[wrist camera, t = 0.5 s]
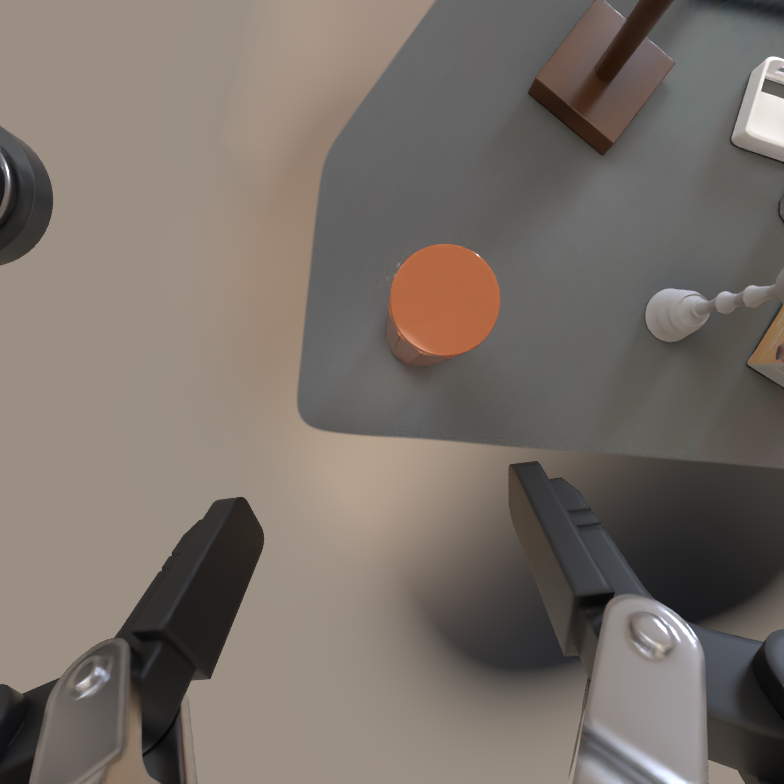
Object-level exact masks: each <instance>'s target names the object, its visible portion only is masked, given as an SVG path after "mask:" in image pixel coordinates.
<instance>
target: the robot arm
mask: <svg viewBox="0 0 784 784" xmlns="http://www.w3.org/2000/svg"><path fill="white" fill-rule="evenodd" d="M17 197H18V182H17V177H16V173H15V169H14V167H13V165H12V162H11V161H10V159H9V157H8V156H7V154H6V153H5V151H4V150H3V149H2V148H1V147H0V230H1V229H2V228H3V227H4V225H5V224H6V223H7V222H8V220H9V219H10V217H11V215H12V213H13V211H14V209H15V206H16V202H17ZM509 508H510V513H511V517H512V521H513V524H514V527H515V529H516V532H517V535H518V537H519V540H520V542H521V544H522V548H523V550H524V552H525V555H526V558H527V560H528V563H529V566H530V568H531V571H532V573H533V576H534V579H535V581H536V584H537V586H538V589H539V592H540V594H541V597H542V599H543V601H544V604H545V607H546V610H547V612H548V615H549V617H550V620H551V623H552V625H553V628H554V630H555V633H556V635H557V638H558V641H559V643H560V646H561V649H562V651H563V654H564V656H575V655H579V656H580V658H581V661H582V663H583V665H584V667H585V670H586V673H587V675H588V679H587V684H586V689H585V694H584V700H583V704H582V709H581V714H580V719H579V724H578V729H577V734H576V740H575V744H574V749H573V754H572V759H571V764H570V769H569V774H568V779H567V784H709V783H708V760H711V761H714V762H717V763H720V764H722V765H725V766H728V767H731V768H733V769H736V770H738V772H739V774H740V775H741V777H742V779H743V780H744V782H745V784H784V629H782V630H777V631H775V632H773V633H771V634H770V635H769V636H768V637H767V638H766V640H765V641H764V642H761V641H757V640H752V639H748V638H744V637H740V636H736V635H731V634H727V633H723V632H719V631H714V630H710V629H706V628H703V627H700V626H697V625H694V624H692V623H690V622H687V621H685V620H683V619H682V618H681V617H680V616H679V615H677V614H676V613H675V612H673V611H672V610H671V609H670V608H668V607H666V606H665V605H663V604H662V603H660V602H658V601H656V600H655V599H654V598H653V597H652V596H651V595H650V594H649V593H648V592H647V591H646V589H645V588H644V586H643V585H642V584H641V582H640V581H639V579H638V578H637V576H636V575H635V573H634V572H633V570H632V569H631V567H630V566H629V565H628V563H627V562H626V560H625V559H624V557H623V555H622V554H621V552H620V551H619V550H618V548H617V547H616V545H615V544H614V542H613V541H612V539H611V538H610V536H609V535H608V533H607V532H606V530H605V529H604V527H602V526H601V524H600V521H599V520H598V519H597V517H596V516H595V514H594V512H592V511H591V508H590V506H589V505H588V504H587V502H586V501H585V499H584V498H583V496H582V495H581V493H580V492H579V491H578V490H577V489H576V488H574V487H573V486H572V485H570V484H569V483H568V482H567V481H565V480H564V479H563V478H555V479H548V477H547V475H546V473H545V472H544V470H543V468H542V467H541V465H540V464H539V463H538V462H537V461H533V462H525V463H517V464H510V465H509ZM263 545H264V533H263V530H262V527H261V526H260V524H259V522H258V520H257V518H256V516H255V515H254V513H253V511H252V509H251V507H250V505H249V503H248V502H247V500H246V499H245V498H243V497H237V498H229V499H221V500H217V501H215V502H214V503H213V504H212V506H211V507H210V509H209V510H208V512H207V513H206V515H205V516H204V518H203V519H202V520H199V521H198V522H197V523H196V524H195V525H194V526H193V527H192V528H191V529H190V530H189V531H188V532H187V533H185V534H184V535H183V537H182V538H181V540H180V541H179V543H178V544H177V546H176V547H175V549H174V550H173V552H172V556H170V557H169V558H168V559H167V561H166V562H165V564H164V565H163V567H162V571H160V572H159V573H158V574H157V576H156V577H155V579H154V580H153V582H152V583H151V584H150V586H149V587H148V589H147V591H146V592H145V593H144V595H143V596H142V598H141V599H140V601H139V603H138V604H137V606H136V607H135V608H134V610H133V611H132V613H131V614H130V616H129V617H128V619H127V620H126V622H125V623H124V625H123V626H122V628H121V630H120V631H119V632H118V633H117V635H116V636H115V637H114V638H111V639H108V640H105V641H103V642H100V643H99V644H97V645H95V646H94V647H92V648H90V649H89V650H88V651H87V652H85V653H84V654H82V655H81V656H80V657H79V658H78V659H77V660H76V661H75V662H74V663H73V664H72V665H71V666H70V667H69V668H68V669H67V670H66V671H65V672H64V674H63V675H62V676H61V677H60V678H58V679H56V680H53V681H51V682H49V683H46V684H44V685H42V686H40V687H37V688H35V689H32V690H30V691H28V692H26V693H23V694H21V693H19V692H18V691H16V690H14V689H13V688H11V687H9V686H8V685H4V684H0V784H198V783H197V775H196V764H195V755H194V746H193V736H192V727H191V717H190V708H189V701H188V698H187V696H186V695H185V693H186V691H187V688H188V686H189V684H190V682H191V680H205V679H210V678H211V676H212V673H213V671H214V668H215V666H216V664H217V661H218V659H219V656H220V654H221V651H222V649H223V646H224V644H225V641H226V639H227V636H228V634H229V632H230V629H231V627H232V624H233V622H234V619H235V617H236V614H237V612H238V609H239V607H240V604H241V602H242V599H243V597H244V594H245V592H246V589H247V587H248V584H249V582H250V579H251V577H252V574H253V572H254V569H255V567H256V564H257V562H258V560H259V557H260V554H261V552H262V549H263Z"/></svg>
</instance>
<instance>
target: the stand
mask: <svg viewBox="0 0 784 784" xmlns="http://www.w3.org/2000/svg"><path fill="white" fill-rule="evenodd" d="M673 1H674V0H640V1H639V2H638V3H637V5H636V6H635V8H634V9H633V11H632V12H631V14H630V15H629V17H628V18H627V20H626V19H625V18H624V17H622V16H621V15H620V14H619V13H618V12H617V11H616V10H614V9H613V8H612V7H611V6H610V5H609V4H607V3H606V2H605V1H604V0H594V2H593V3H592V4H591V6H590V7H589V8H588V9H587V11H586V12H585V13H584V15H583V16H582V17H581V19H580V20H579V21H578V23H577V24H576V25H575V27H574V28H573V29H572V30H571V32H570V33H569V34H568V36H567V37H566V38H565V40H564V41H563V42H562V44H561V45H560V46H559V48H558V49H557V50H556V51H555V53H554V54H553V55H552V57H551V58H550V59H549V61H548V62H547V63H546V65H545V66H544V67H543V69H542V70H541V71H540V73H539V74H538V75H537V76H536V78H535V80H534V82H533V84H532V86H531V88H530V90H529V92H528V93H529V94H531V95H532V96H533V97H534V98H535V99H537V100H538V101H539V102H540V103H541V104H542V105H544V106H545V107H546V108H547V109H548V110H550V111H551V112H552V113H553V114H554V115H556V116H557V117H558V118H559V119H560V120H562V121H563V122H564V123H565V124H566V125H568V126H569V127H570V128H571V129H572V130H574V131H575V132H576V133H577V134H578V135H580V136H581V137H582V138H583V139H584V140H586V141H587V142H588V143H589V144H590V145H592V146H593V147H594V148H595V149H596V150H598V151H599V152H600V153H601V154H602V155H603V154H604V153H605V152H606V151H607V150H608V149H609V148H610V147H611V146H612V145H613V144H614V143H615V142H616V140H617V139H618V138H619V136H620V135H621V134H622V132H623V131H624V130H625V129H626V127H627V126H628V125H629V123H630V122H631V121H632V119H633V118H634V117H635V115H636V114H637V113H638V112H639V110H640V109H641V108H642V106H643V105H644V104H645V102H646V101H647V100H648V98H649V97H650V96H651V94H652V93H653V92H654V91H655V89H656V88H657V87H658V85H659V84H660V83H661V81H662V80H663V79H664V77H665V76H666V75H667V74H668V72H669V71H670V70H671V68H672V67H673V66H674V64H675V61H673V60H672V59H671V58H670V57H669V56H668V55H666V54H665V53H664V52H663V51H662V50H661V49H659V48H658V47H657V46H656V45H655V44H654V43H653V42H651V41H650V40H649V39H648V38H647V37H646V36H647V35H648V34H649V32H650V31H651V30H652V28H653V27H654V26H655V24H656V23H657V22H658V21H659V19H660V18H661V17H662V15H663V14H664V13H665V11H666V10H667V9H668V7H669V6H670V5H671V4H672V2H673Z"/></svg>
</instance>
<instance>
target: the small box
mask: <svg viewBox="0 0 784 784" xmlns="http://www.w3.org/2000/svg"><path fill="white" fill-rule="evenodd" d="M747 365H749V366H750V367H752V368H753V369H755V370H757V371H758V372H760V373H761V374H763V375H764V376H766V377H768V378H769V379H771V380H773V381H774V382H776V383H777V384H779V385H781V386H782V387H784V305H783V306H782V308H781V310H780V311H779V313H778V315H777V316H776V318H775V320H774V321H773V323H772V324H771V326H770V328H769V329H768V331H767V332H766V334H765V336H764V337H763V339H762V340H761V342H760V344H759V345H758V347H757V349H756V350H755V352H754V353H753V355H752V356H751V357H750V359H749V360H748V362H747Z"/></svg>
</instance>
